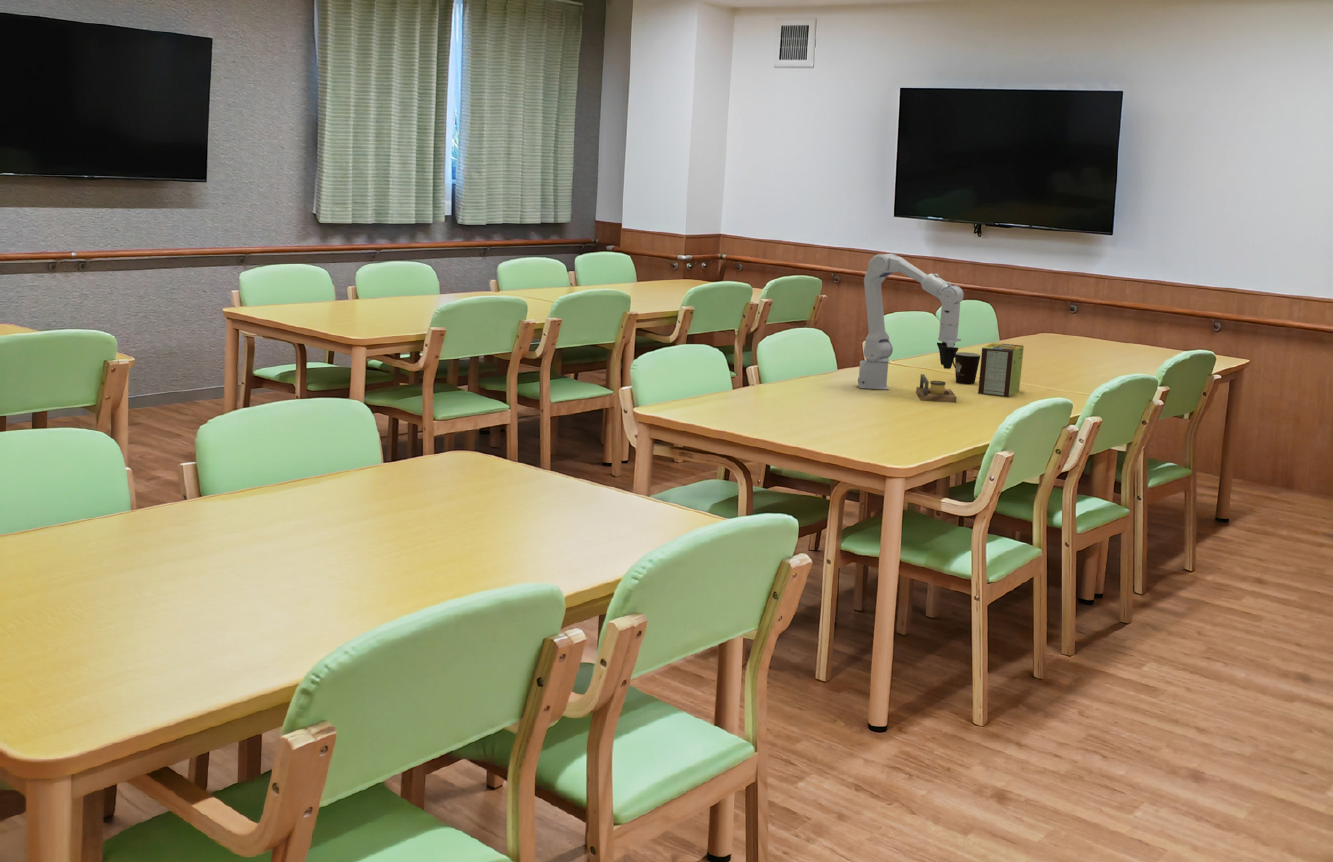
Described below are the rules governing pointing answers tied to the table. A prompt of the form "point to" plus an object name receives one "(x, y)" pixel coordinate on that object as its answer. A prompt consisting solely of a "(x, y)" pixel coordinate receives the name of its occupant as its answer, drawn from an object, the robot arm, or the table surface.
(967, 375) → the coffee mug
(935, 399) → the brown piece
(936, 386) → the cord reel
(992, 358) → the protein box
